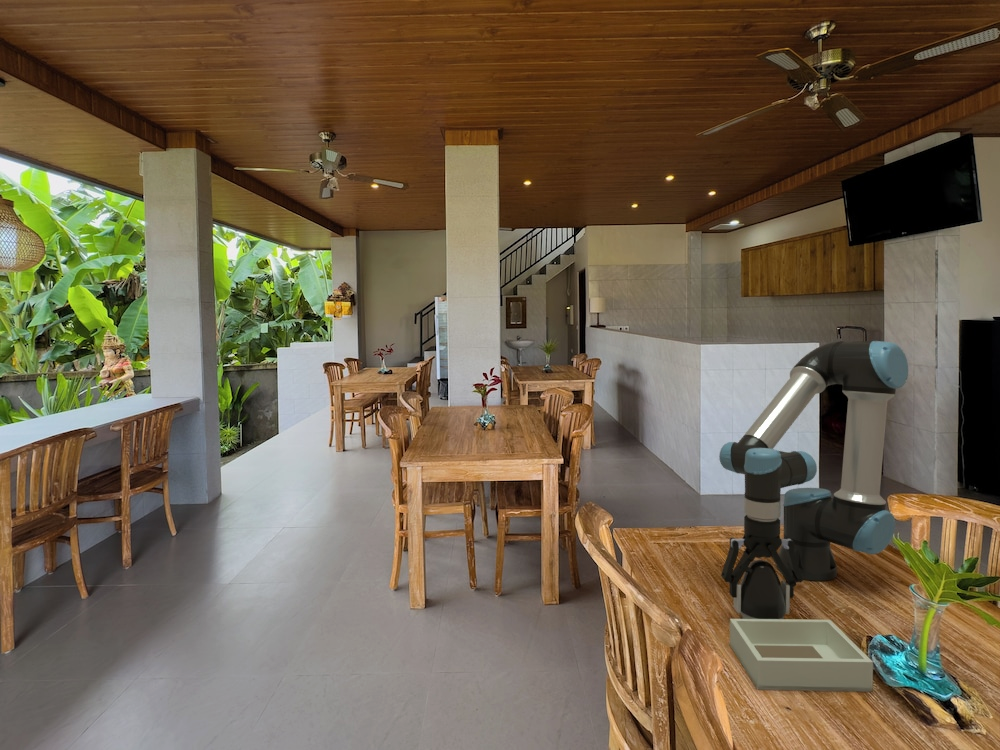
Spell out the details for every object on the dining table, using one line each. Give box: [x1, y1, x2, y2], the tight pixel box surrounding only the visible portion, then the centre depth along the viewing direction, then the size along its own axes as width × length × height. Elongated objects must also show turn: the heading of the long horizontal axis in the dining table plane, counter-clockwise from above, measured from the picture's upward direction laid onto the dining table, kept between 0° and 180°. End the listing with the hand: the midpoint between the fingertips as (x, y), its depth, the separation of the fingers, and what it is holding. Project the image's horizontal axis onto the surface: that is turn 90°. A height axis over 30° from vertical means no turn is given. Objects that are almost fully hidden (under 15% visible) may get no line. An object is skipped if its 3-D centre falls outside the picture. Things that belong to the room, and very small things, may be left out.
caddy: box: [729, 618, 874, 693], centre depth 117 cm, size 21×16×6 cm
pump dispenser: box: [739, 559, 787, 619], centre depth 134 cm, size 10×10×15 cm
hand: (761, 610), depth 134 cm, fingers closed on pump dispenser, 10 cm apart
